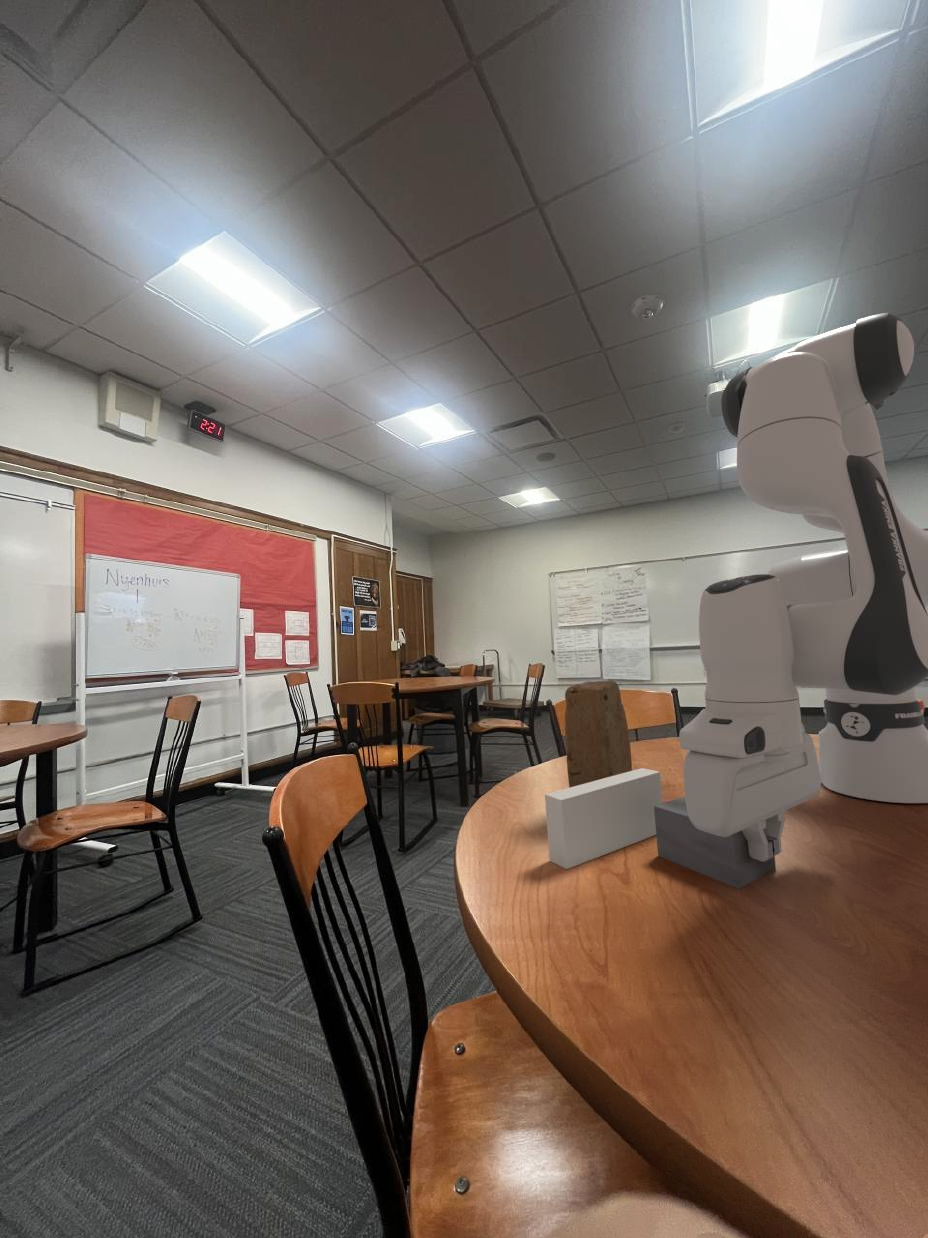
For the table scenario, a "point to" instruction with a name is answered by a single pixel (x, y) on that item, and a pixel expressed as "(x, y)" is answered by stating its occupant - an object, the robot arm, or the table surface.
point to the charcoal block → (705, 848)
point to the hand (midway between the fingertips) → (765, 856)
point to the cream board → (601, 816)
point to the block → (595, 732)
